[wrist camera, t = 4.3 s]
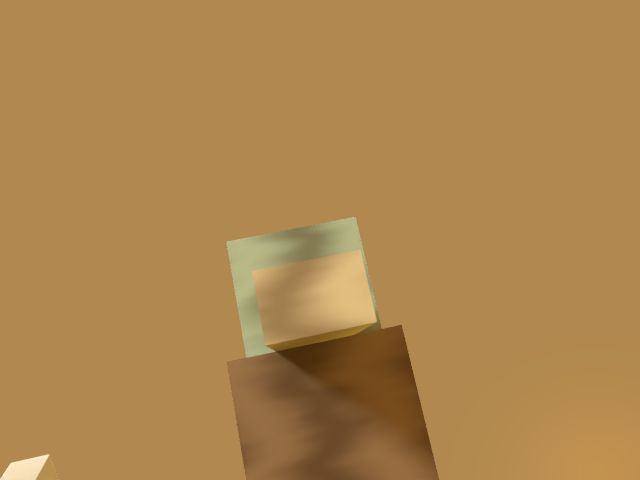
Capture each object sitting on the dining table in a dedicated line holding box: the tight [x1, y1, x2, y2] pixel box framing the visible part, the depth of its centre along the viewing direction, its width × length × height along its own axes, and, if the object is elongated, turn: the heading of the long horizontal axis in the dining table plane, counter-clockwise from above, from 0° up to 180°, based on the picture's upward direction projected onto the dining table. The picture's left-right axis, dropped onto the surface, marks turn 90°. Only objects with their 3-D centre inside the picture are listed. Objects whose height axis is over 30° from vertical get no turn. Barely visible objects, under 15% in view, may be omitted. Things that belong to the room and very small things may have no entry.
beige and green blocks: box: [227, 217, 382, 358], centre depth 29 cm, size 8×16×7 cm, turn 2°
